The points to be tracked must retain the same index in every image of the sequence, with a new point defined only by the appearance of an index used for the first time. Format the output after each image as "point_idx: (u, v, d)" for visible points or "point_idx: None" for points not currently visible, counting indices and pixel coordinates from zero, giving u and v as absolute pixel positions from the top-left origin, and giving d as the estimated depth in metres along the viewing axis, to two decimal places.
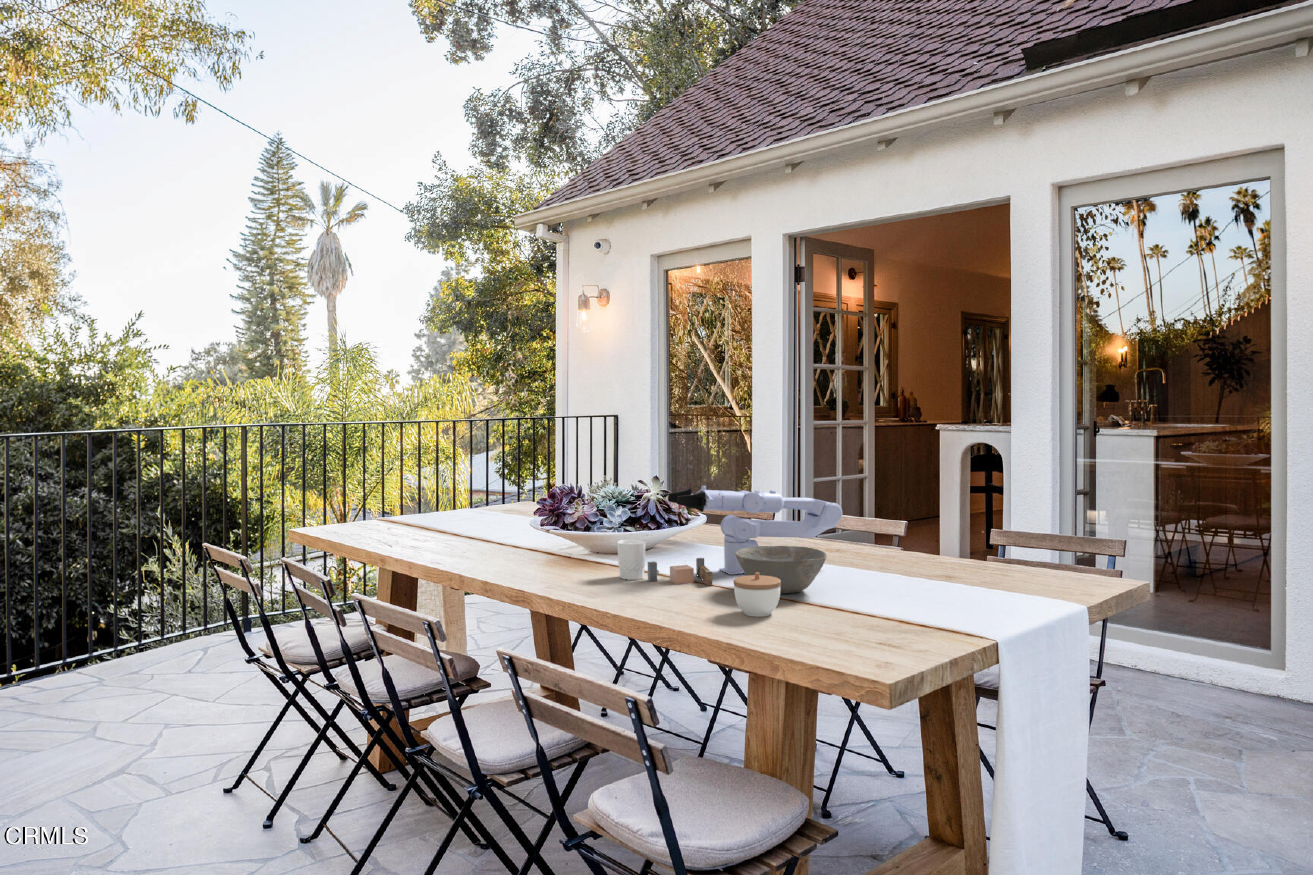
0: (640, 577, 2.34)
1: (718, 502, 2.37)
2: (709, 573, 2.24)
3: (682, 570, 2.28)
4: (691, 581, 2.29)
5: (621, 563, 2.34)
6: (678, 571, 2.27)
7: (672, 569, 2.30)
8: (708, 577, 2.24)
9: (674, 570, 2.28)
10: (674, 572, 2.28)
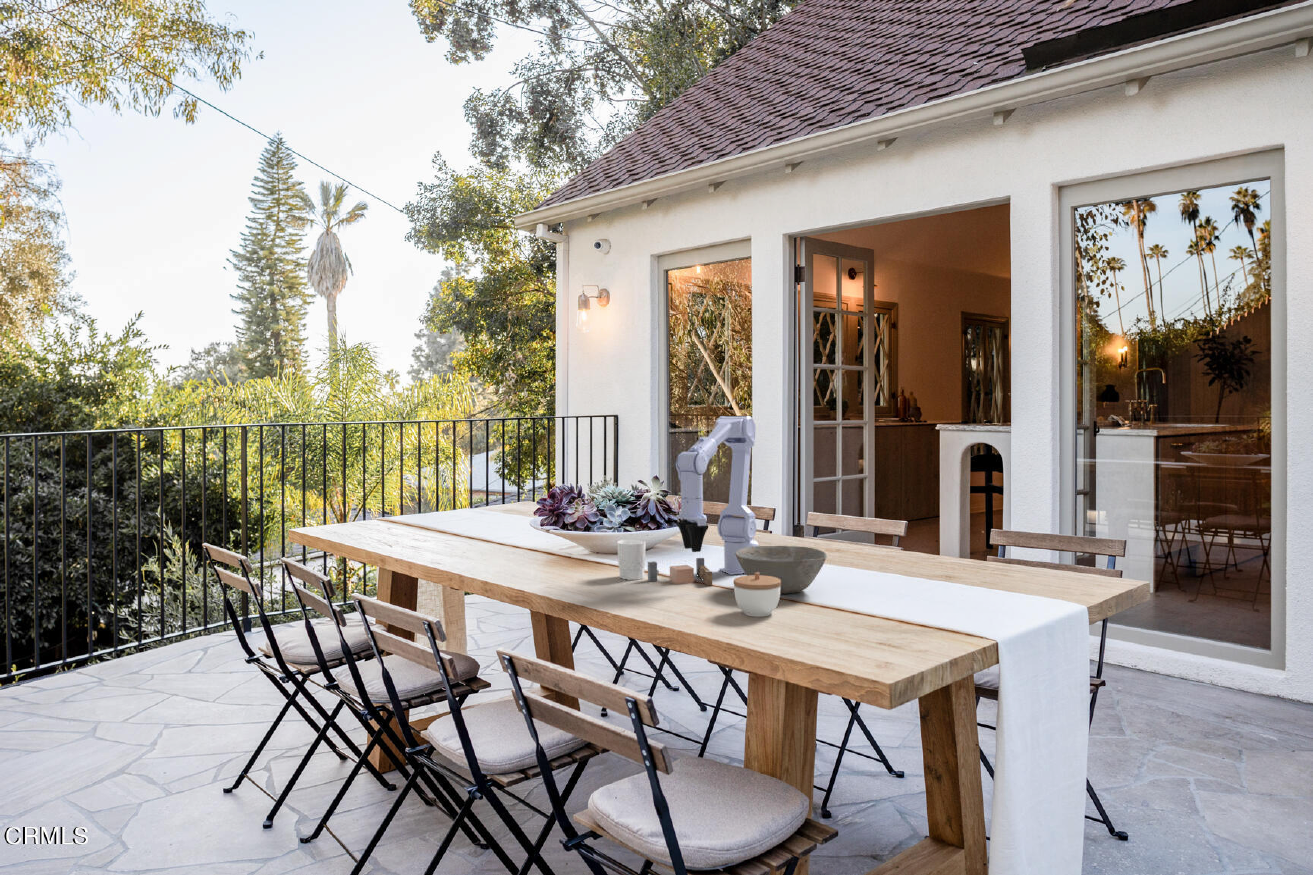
0: (640, 577, 2.34)
1: (696, 503, 2.19)
2: (709, 573, 2.24)
3: (682, 570, 2.28)
4: (691, 581, 2.29)
5: (621, 563, 2.34)
6: (678, 571, 2.27)
7: (672, 569, 2.30)
8: (708, 577, 2.24)
9: (674, 570, 2.28)
10: (674, 572, 2.28)
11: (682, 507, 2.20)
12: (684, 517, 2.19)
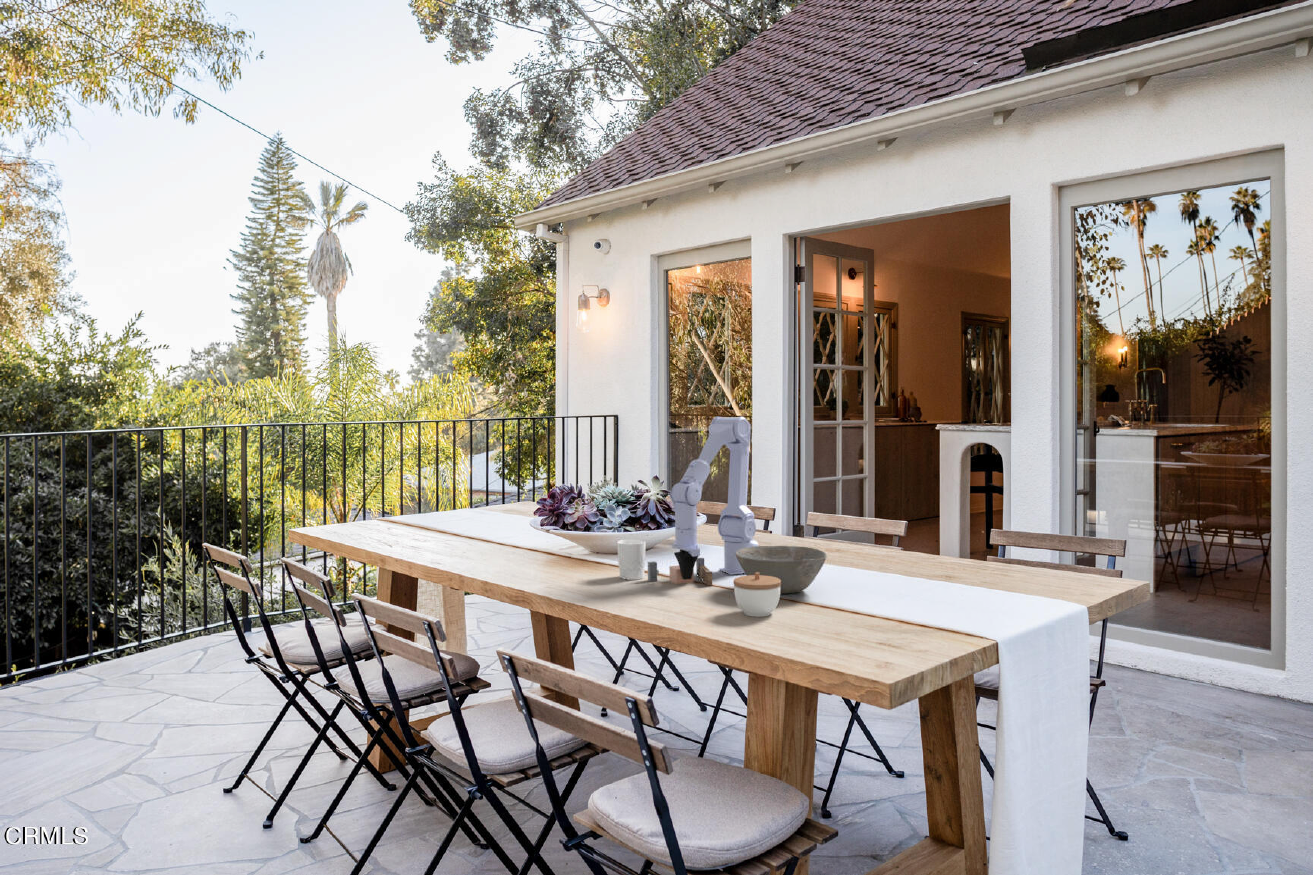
0: (640, 577, 2.34)
1: (690, 533, 2.24)
2: (709, 573, 2.24)
3: None
4: (691, 581, 2.29)
5: (621, 563, 2.34)
6: (678, 571, 2.27)
7: (672, 569, 2.30)
8: (708, 577, 2.24)
9: (674, 570, 2.28)
10: (674, 572, 2.28)
11: (676, 537, 2.25)
12: (678, 547, 2.24)
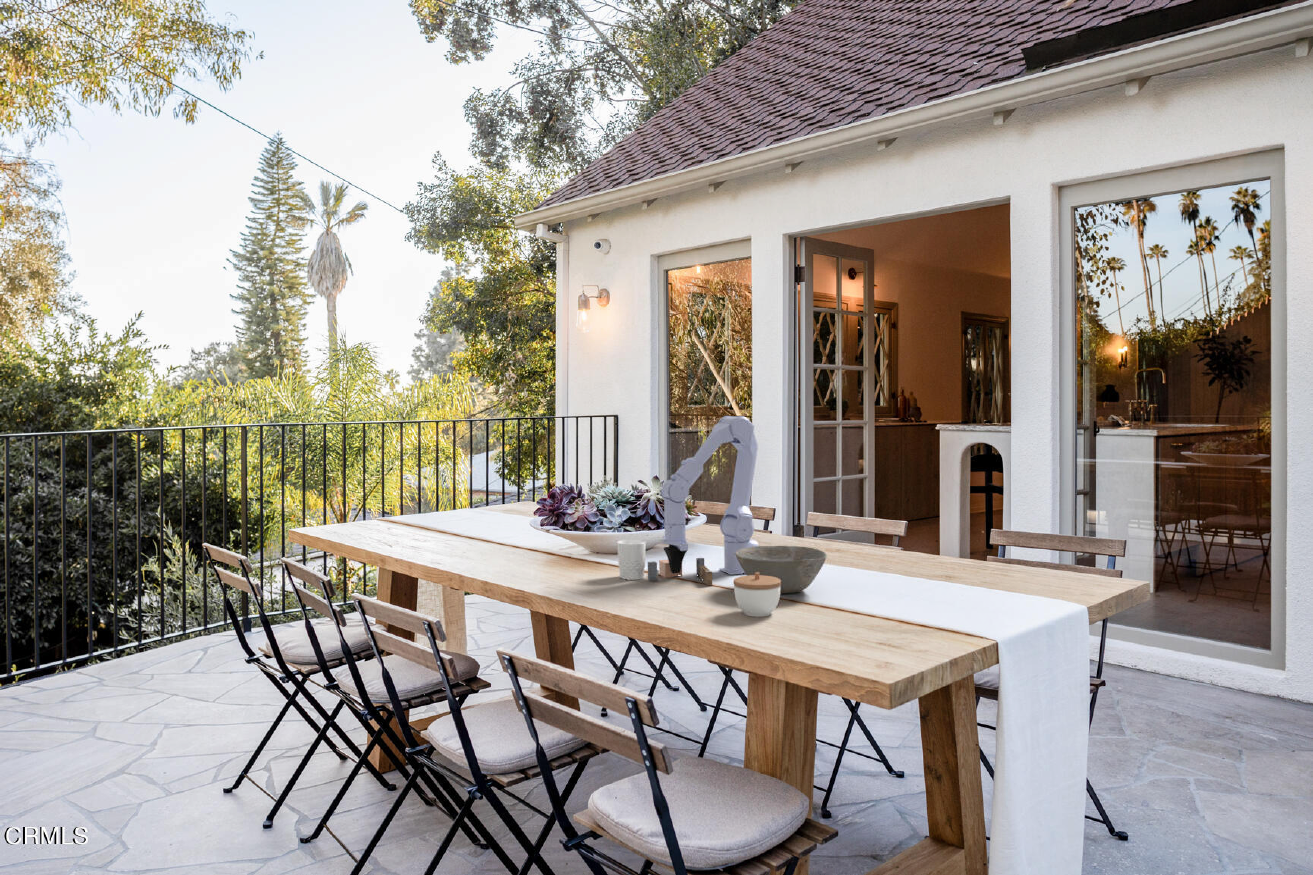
0: (640, 577, 2.34)
1: (679, 529, 2.32)
2: (709, 573, 2.24)
3: None
4: (680, 574, 2.37)
5: (621, 563, 2.34)
6: (667, 565, 2.36)
7: (661, 563, 2.38)
8: (708, 577, 2.24)
9: (663, 564, 2.37)
10: (663, 565, 2.36)
11: (666, 532, 2.33)
12: (667, 542, 2.32)
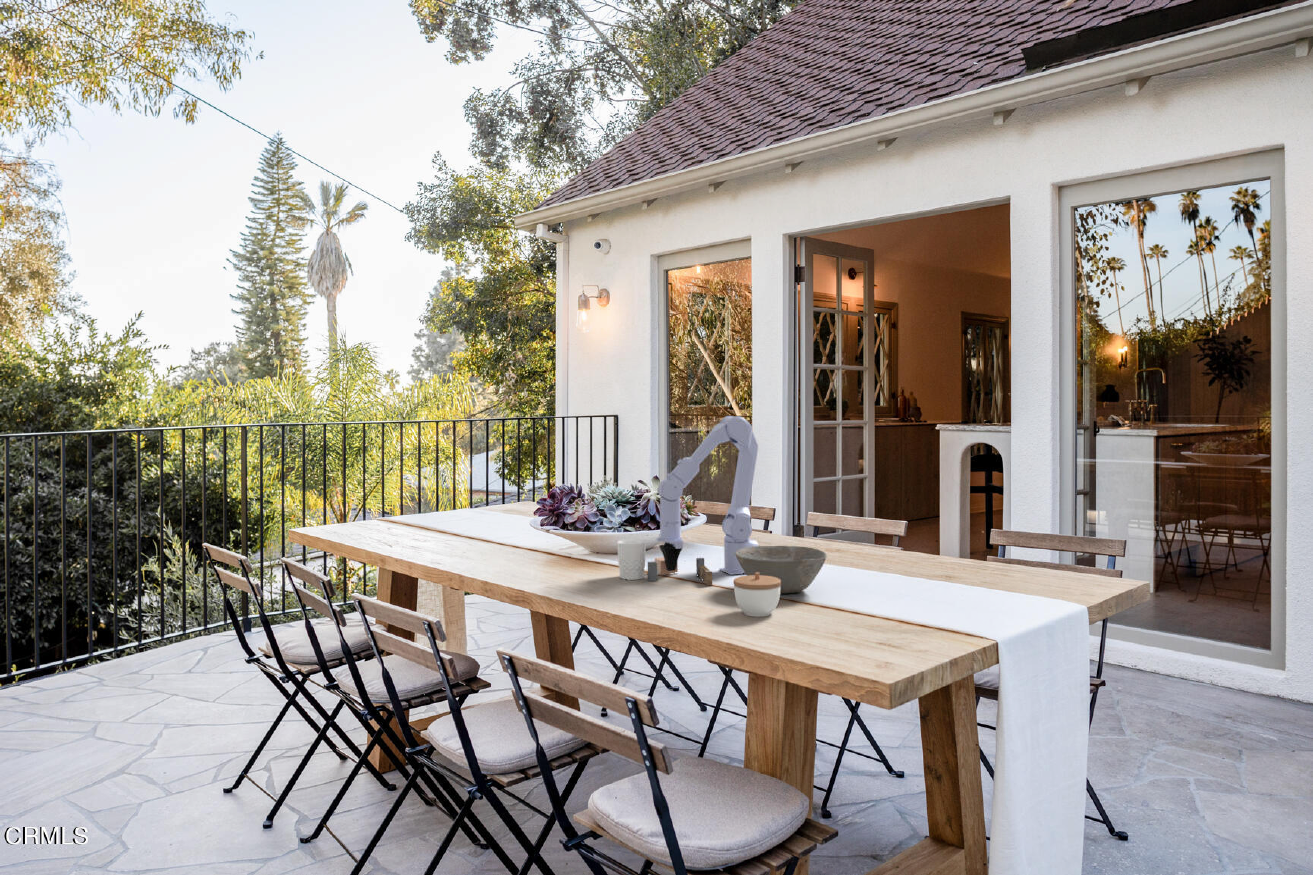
0: (640, 577, 2.34)
1: (674, 527, 2.35)
2: (709, 573, 2.24)
3: None
4: None
5: (621, 563, 2.34)
6: (663, 562, 2.39)
7: (657, 560, 2.42)
8: (708, 577, 2.24)
9: (659, 561, 2.40)
10: (659, 563, 2.40)
11: (661, 531, 2.37)
12: (663, 540, 2.36)
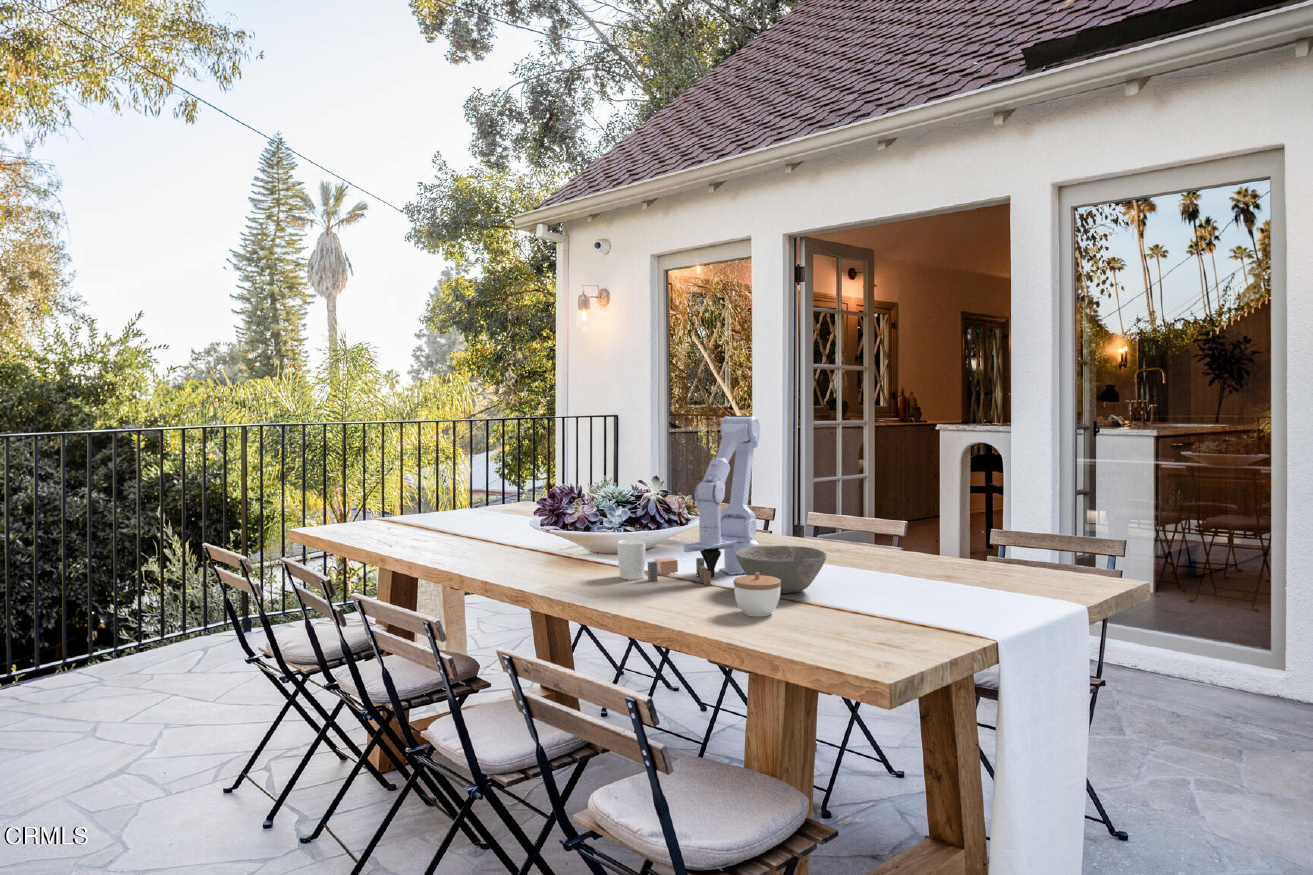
0: (640, 577, 2.34)
1: None
2: (708, 573, 2.24)
3: (666, 562, 2.40)
4: None
5: (621, 563, 2.34)
6: (663, 563, 2.39)
7: (657, 561, 2.42)
8: (707, 577, 2.24)
9: (659, 562, 2.40)
10: (659, 564, 2.40)
11: (715, 536, 2.26)
12: (719, 545, 2.26)
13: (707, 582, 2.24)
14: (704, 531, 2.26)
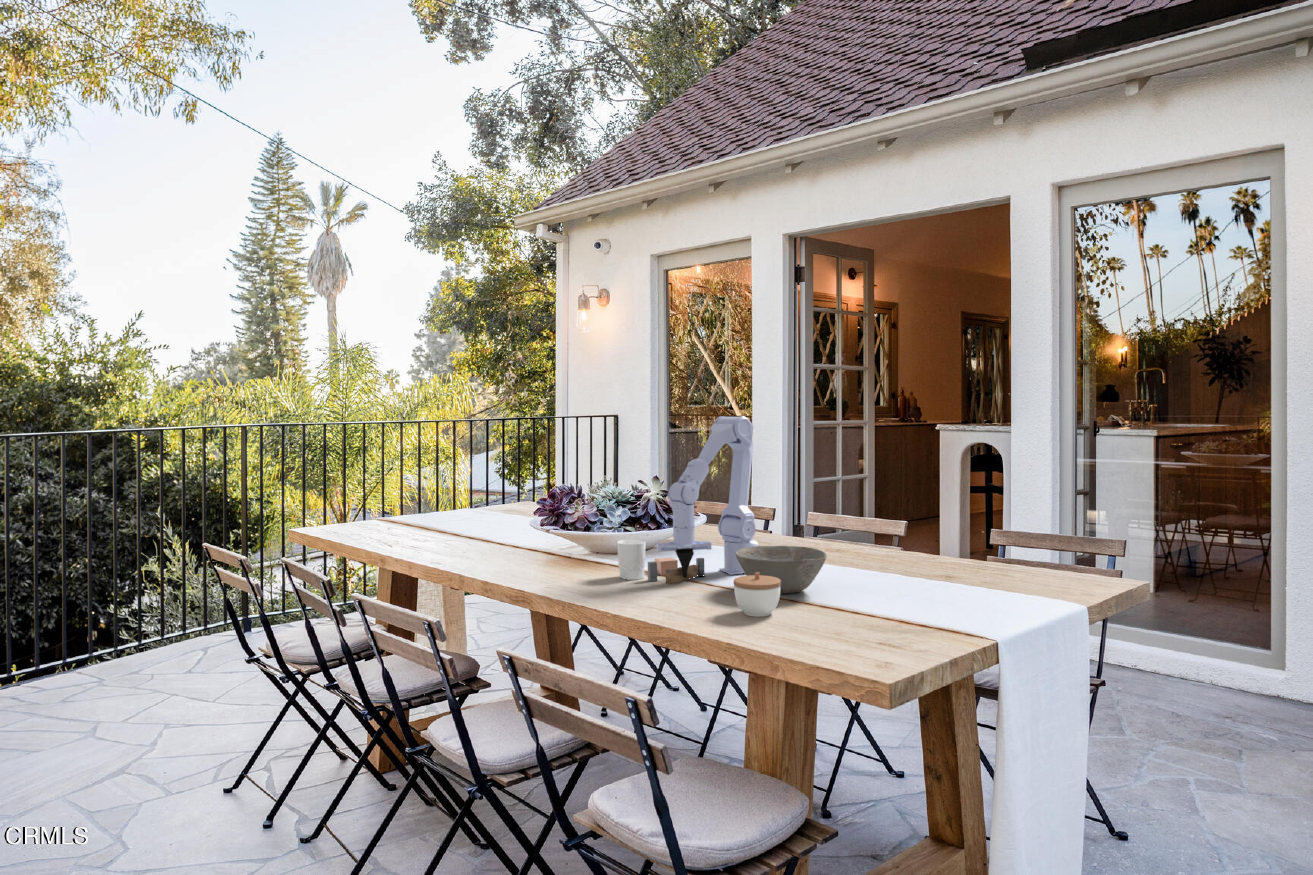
0: (640, 577, 2.34)
1: None
2: (666, 571, 2.28)
3: (667, 562, 2.40)
4: None
5: (621, 563, 2.34)
6: (663, 563, 2.39)
7: (657, 561, 2.42)
8: (666, 574, 2.28)
9: (659, 562, 2.40)
10: (659, 564, 2.40)
11: (687, 536, 2.26)
12: (691, 545, 2.27)
13: (666, 579, 2.28)
14: (676, 531, 2.27)
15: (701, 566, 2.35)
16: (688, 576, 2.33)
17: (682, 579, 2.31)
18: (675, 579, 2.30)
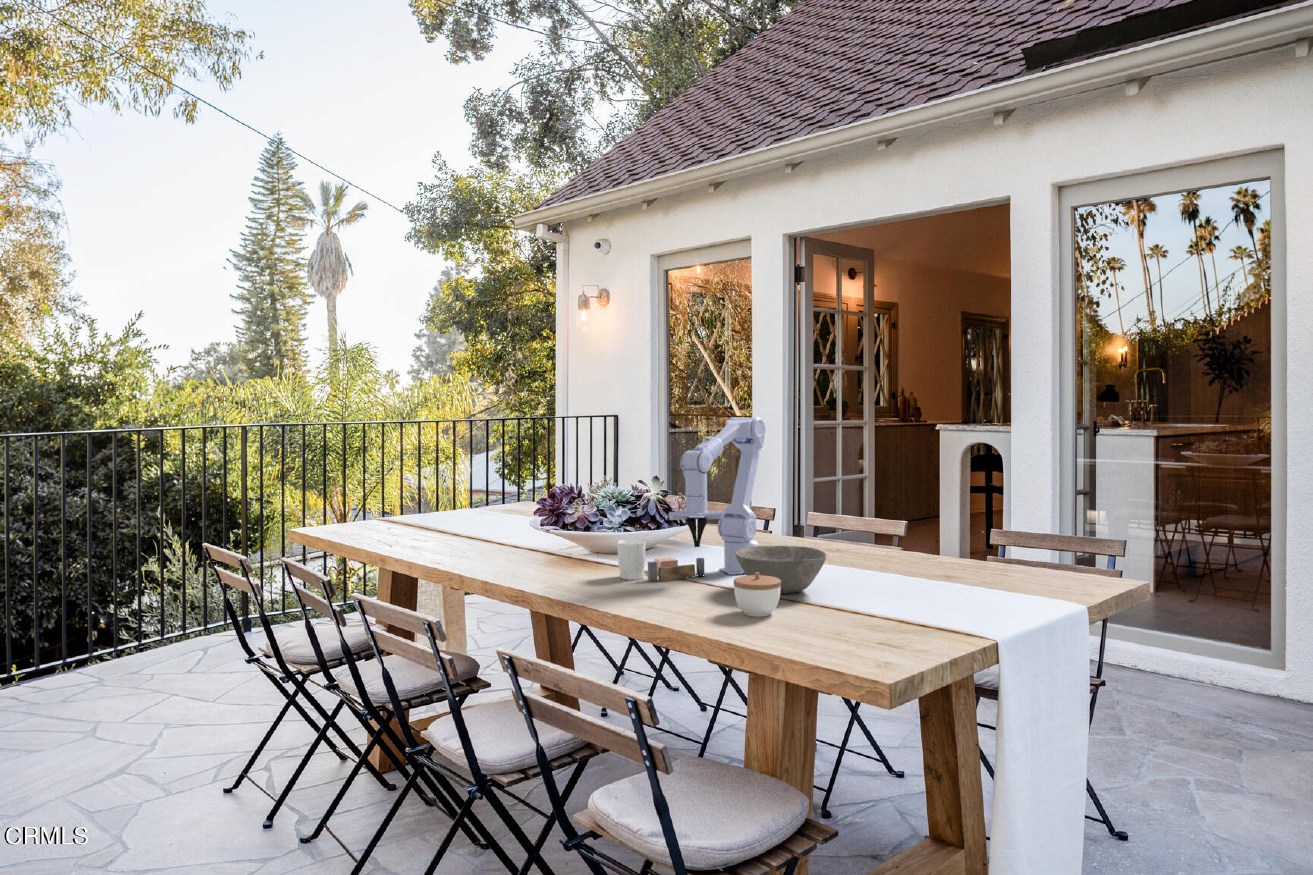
0: (640, 577, 2.34)
1: None
2: (659, 568, 2.31)
3: (667, 562, 2.40)
4: None
5: (621, 563, 2.34)
6: (663, 563, 2.39)
7: (657, 561, 2.42)
8: (659, 572, 2.32)
9: (659, 562, 2.40)
10: (659, 564, 2.40)
11: (698, 505, 2.24)
12: (702, 514, 2.24)
13: (659, 577, 2.32)
14: (687, 500, 2.25)
15: (701, 566, 2.35)
16: (684, 575, 2.34)
17: (677, 578, 2.33)
18: (669, 577, 2.32)
